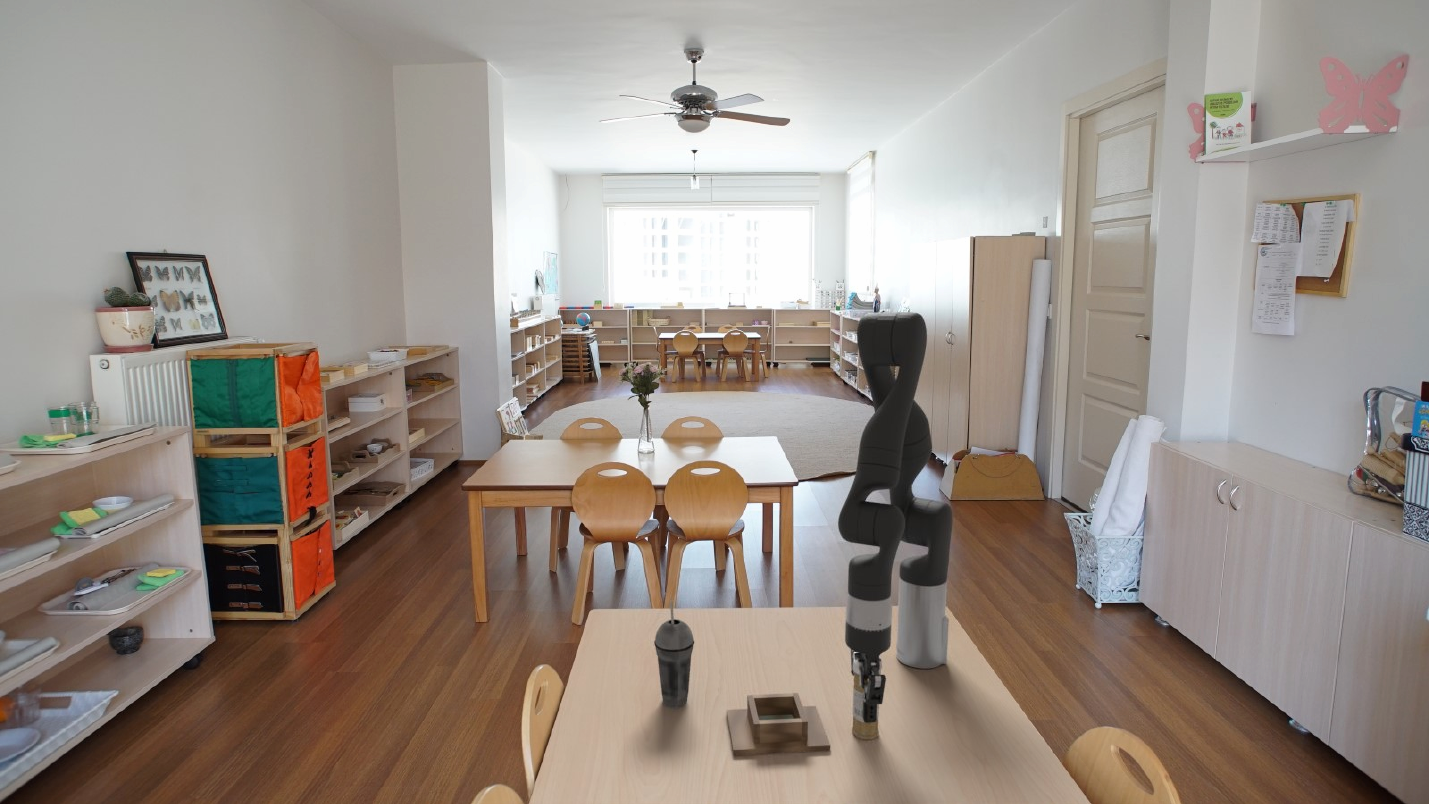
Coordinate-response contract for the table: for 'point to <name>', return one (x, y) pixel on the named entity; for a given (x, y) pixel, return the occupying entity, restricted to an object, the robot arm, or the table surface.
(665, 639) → the beverage cup
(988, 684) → the table surface
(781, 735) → the wooden square holder
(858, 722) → the sprinkles bottle
